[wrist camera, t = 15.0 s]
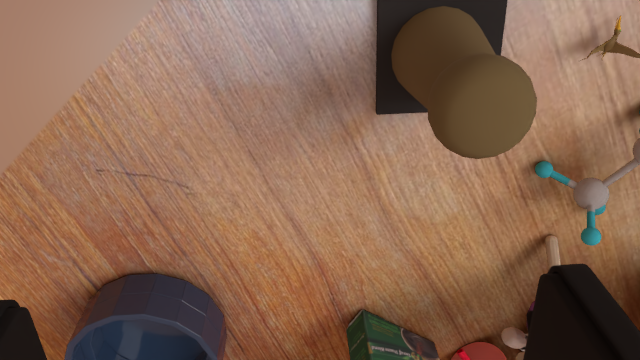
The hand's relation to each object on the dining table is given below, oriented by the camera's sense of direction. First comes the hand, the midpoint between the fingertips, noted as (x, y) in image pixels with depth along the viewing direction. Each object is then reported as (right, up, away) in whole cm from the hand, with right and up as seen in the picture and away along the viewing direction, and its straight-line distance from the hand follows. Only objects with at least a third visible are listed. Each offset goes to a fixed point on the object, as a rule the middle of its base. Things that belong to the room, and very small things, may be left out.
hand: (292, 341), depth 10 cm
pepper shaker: (+8, +11, +25) cm, 29 cm away
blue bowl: (-13, -9, +36) cm, 39 cm away
